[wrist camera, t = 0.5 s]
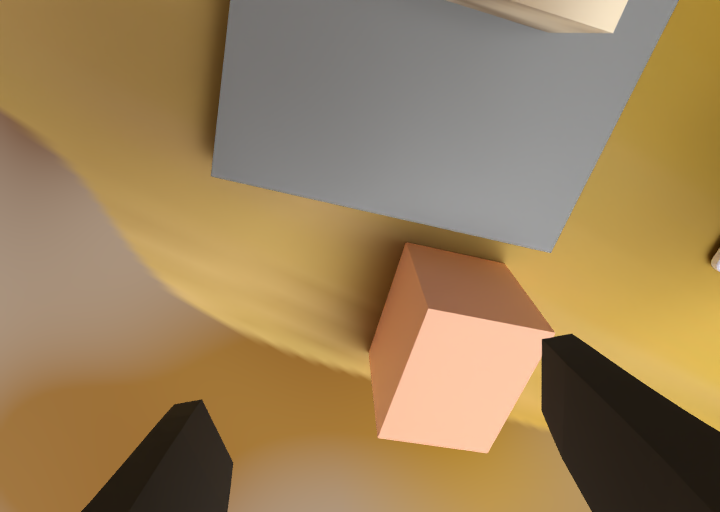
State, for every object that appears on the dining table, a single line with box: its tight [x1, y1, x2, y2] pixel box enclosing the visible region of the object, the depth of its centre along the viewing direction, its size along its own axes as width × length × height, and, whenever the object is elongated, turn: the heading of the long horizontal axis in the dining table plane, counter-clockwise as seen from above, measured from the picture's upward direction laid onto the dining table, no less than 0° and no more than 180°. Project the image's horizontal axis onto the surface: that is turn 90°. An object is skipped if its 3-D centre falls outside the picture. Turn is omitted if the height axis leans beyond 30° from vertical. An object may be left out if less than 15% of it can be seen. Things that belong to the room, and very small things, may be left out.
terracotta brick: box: [369, 242, 555, 453], centre depth 18 cm, size 4×6×5 cm
